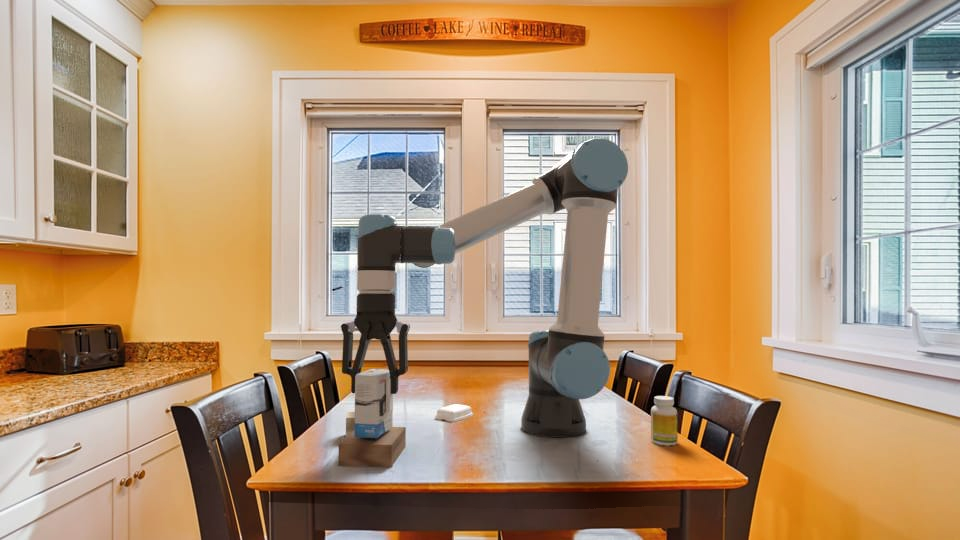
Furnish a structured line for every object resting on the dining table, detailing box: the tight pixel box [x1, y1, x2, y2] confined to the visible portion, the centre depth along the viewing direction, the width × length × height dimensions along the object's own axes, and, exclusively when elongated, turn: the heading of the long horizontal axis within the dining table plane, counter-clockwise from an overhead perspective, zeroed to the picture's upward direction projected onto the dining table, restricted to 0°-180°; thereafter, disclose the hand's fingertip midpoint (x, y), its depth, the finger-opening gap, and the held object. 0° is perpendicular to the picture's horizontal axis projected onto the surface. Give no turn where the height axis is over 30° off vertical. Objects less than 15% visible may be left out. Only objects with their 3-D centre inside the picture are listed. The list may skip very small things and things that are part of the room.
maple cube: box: [345, 411, 355, 438], centre depth 109 cm, size 5×5×5 cm
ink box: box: [354, 368, 394, 438], centre depth 97 cm, size 8×5×12 cm, turn 169°
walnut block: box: [337, 426, 407, 468], centre depth 96 cm, size 10×12×4 cm
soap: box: [434, 403, 474, 423], centre depth 127 cm, size 9×7×3 cm
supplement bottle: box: [650, 395, 679, 447], centre depth 106 cm, size 5×5×10 cm
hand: (374, 409), depth 97 cm, fingers closed on ink box, 5 cm apart
